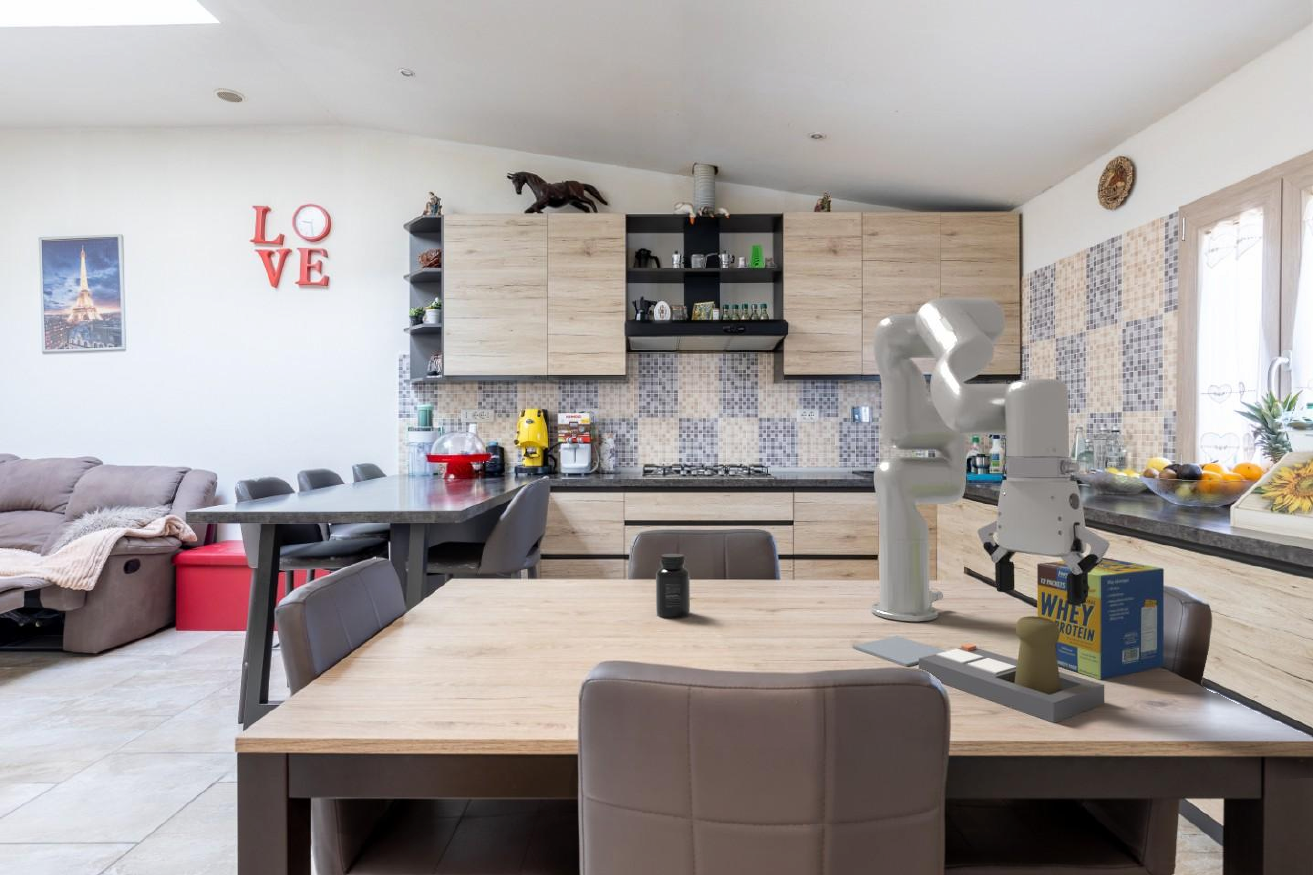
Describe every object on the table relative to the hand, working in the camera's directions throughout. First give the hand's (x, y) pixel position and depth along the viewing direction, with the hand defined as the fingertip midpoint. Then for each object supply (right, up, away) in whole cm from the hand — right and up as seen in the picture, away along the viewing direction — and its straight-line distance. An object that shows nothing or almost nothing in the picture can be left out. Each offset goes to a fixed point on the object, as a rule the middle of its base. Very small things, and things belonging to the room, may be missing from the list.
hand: (1039, 596), depth 92 cm
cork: (0, -14, +1) cm, 14 cm away
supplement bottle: (-49, -15, +46) cm, 68 cm away
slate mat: (-11, -14, +21) cm, 28 cm away
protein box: (+18, -14, +15) cm, 28 cm away
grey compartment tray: (-2, -14, +4) cm, 15 cm away
